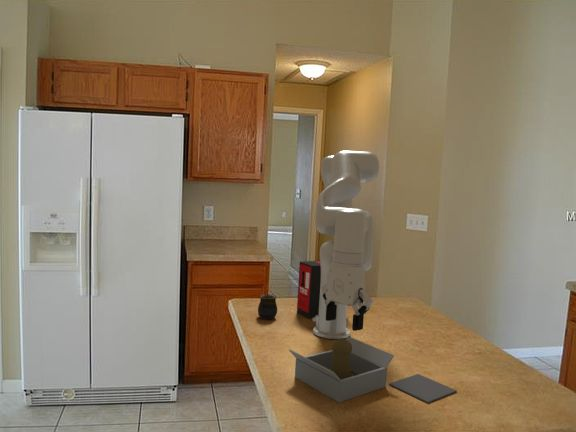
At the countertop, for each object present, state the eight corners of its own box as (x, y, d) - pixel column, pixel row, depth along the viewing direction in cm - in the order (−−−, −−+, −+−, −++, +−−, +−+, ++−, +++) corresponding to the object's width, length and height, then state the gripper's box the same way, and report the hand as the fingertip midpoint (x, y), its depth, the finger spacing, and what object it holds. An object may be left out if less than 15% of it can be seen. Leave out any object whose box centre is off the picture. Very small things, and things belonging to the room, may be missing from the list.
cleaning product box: (309, 319, 181) (312, 265, 179) (296, 312, 188) (299, 261, 187) (344, 314, 189) (348, 264, 187) (331, 308, 197) (334, 259, 195)
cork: (326, 376, 129) (328, 336, 128) (348, 377, 129) (351, 337, 128) (330, 386, 123) (332, 344, 122) (353, 387, 123) (356, 345, 122)
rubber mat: (389, 384, 126) (389, 383, 126) (417, 375, 133) (418, 373, 133) (427, 403, 116) (428, 401, 116) (456, 392, 124) (456, 390, 124)
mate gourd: (275, 315, 183) (277, 289, 182) (278, 321, 176) (279, 294, 175) (256, 314, 182) (258, 288, 181) (258, 320, 175) (259, 293, 174)
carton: (287, 379, 126) (288, 349, 125) (346, 363, 139) (348, 336, 139) (330, 405, 113) (332, 372, 112) (392, 384, 126) (394, 354, 125)
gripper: (314, 254, 128) (310, 318, 129) (362, 264, 114) (358, 336, 115) (335, 253, 132) (331, 315, 133) (384, 263, 119) (379, 331, 120)
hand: (343, 324), depth 124 cm, fingers open, 9 cm apart
